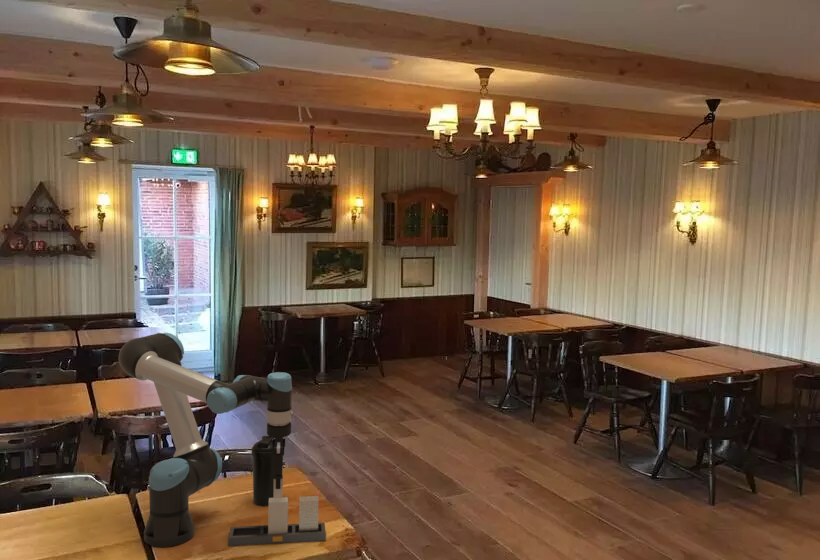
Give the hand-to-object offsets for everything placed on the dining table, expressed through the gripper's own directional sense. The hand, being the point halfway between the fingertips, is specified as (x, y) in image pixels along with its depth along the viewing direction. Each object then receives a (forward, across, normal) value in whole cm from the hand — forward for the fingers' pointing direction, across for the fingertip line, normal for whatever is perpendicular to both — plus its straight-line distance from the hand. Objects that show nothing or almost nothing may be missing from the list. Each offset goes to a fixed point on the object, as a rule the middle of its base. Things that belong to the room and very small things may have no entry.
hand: (278, 491), depth 212 cm
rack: (+15, 0, 0) cm, 15 cm away
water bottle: (+16, +28, +5) cm, 32 cm away
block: (+15, 0, 0) cm, 15 cm away
